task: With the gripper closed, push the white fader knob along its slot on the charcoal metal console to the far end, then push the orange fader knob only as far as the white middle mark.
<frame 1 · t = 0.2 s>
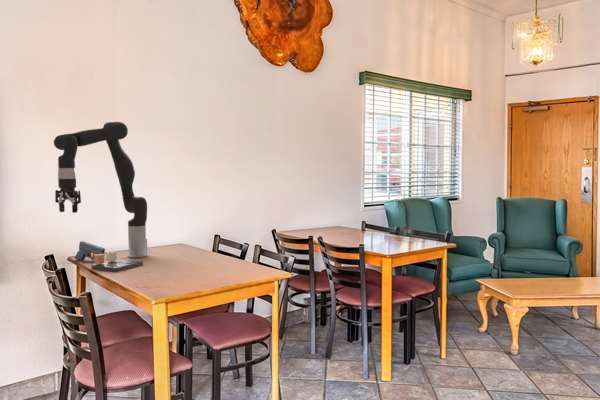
hand: (68, 212, 227), 28 cm above the table, fingers open, 8 cm apart
fader orange: (99, 258, 236), point 5 cm above the table, slide at 0.0 cm
fader white: (111, 256, 243), point 5 cm above the table, slide at 0.0 cm
toy: (89, 261, 256), on the table
console: (117, 267, 240), on the table
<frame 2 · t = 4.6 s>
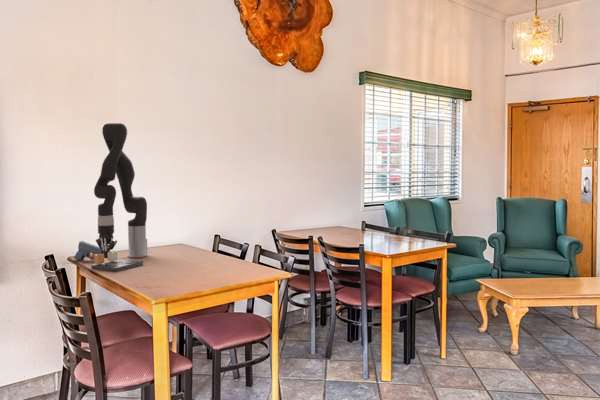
hand: (106, 258, 245), 4 cm above the table, fingers closed
fader white: (112, 256, 243), point 5 cm above the table, slide at 0.6 cm, touching gripper
everything else where it was.
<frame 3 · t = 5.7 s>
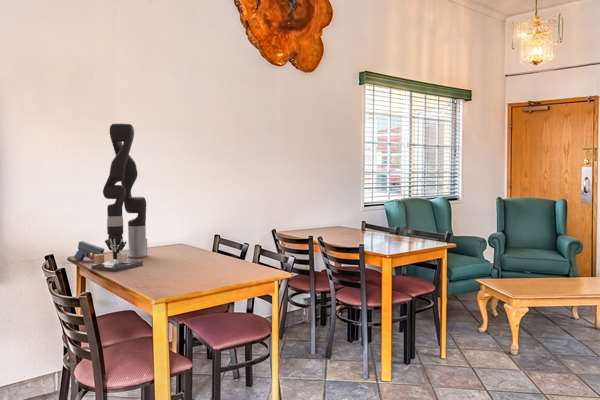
hand: (116, 259, 242), 4 cm above the table, fingers closed
fader white: (122, 257, 240), point 5 cm above the table, slide at 7.0 cm, touching gripper
everything else where it was.
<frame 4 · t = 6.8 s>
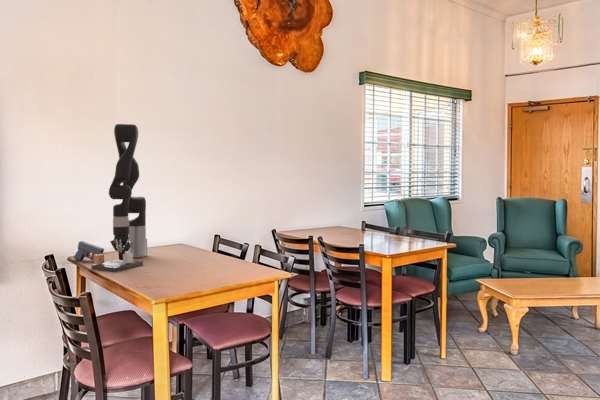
hand: (121, 259, 240), 4 cm above the table, fingers closed
fader white: (127, 257, 239), point 5 cm above the table, slide at 10.9 cm, touching gripper
everything else where it was.
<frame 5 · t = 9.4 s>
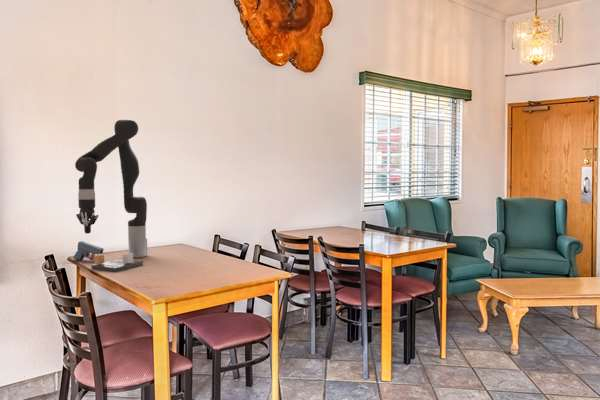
hand: (87, 233, 238), 17 cm above the table, fingers closed
fader white: (128, 257, 239), point 5 cm above the table, slide at 11.0 cm
everything else where it was.
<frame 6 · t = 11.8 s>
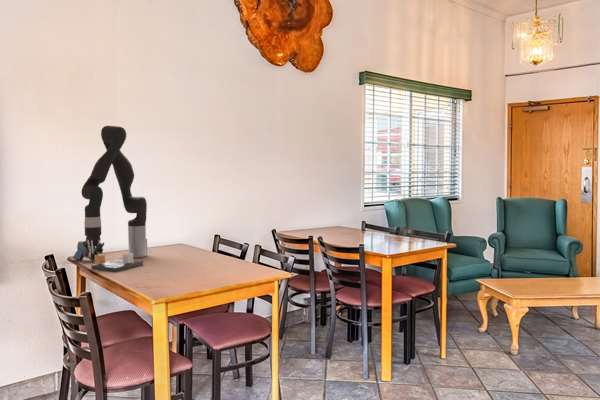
hand: (93, 260, 238), 4 cm above the table, fingers closed
fader orange: (99, 258, 236), point 5 cm above the table, slide at 0.5 cm, touching gripper
everything else where it was.
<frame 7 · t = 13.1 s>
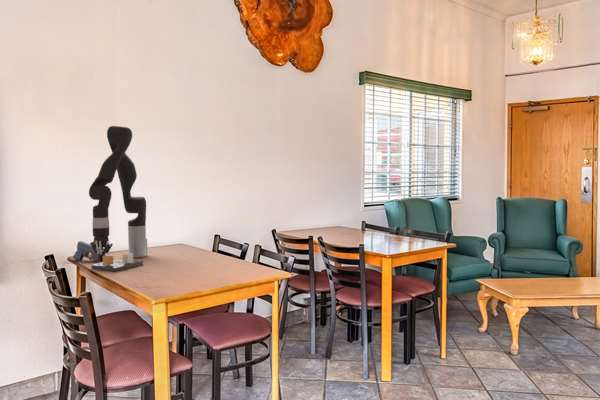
hand: (101, 261, 235), 4 cm above the table, fingers closed
fader orange: (107, 259, 234), point 5 cm above the table, slide at 5.9 cm, touching gripper
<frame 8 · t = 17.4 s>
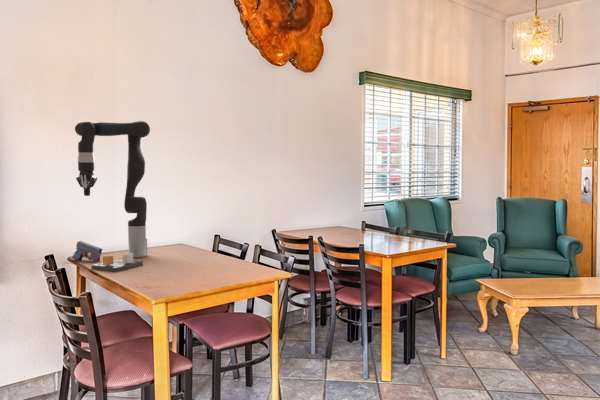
hand: (87, 195, 246), 35 cm above the table, fingers closed
fader orange: (108, 259, 234), point 5 cm above the table, slide at 6.0 cm
at the end: fader white slide at 11.0 cm; fader orange slide at 6.0 cm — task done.
